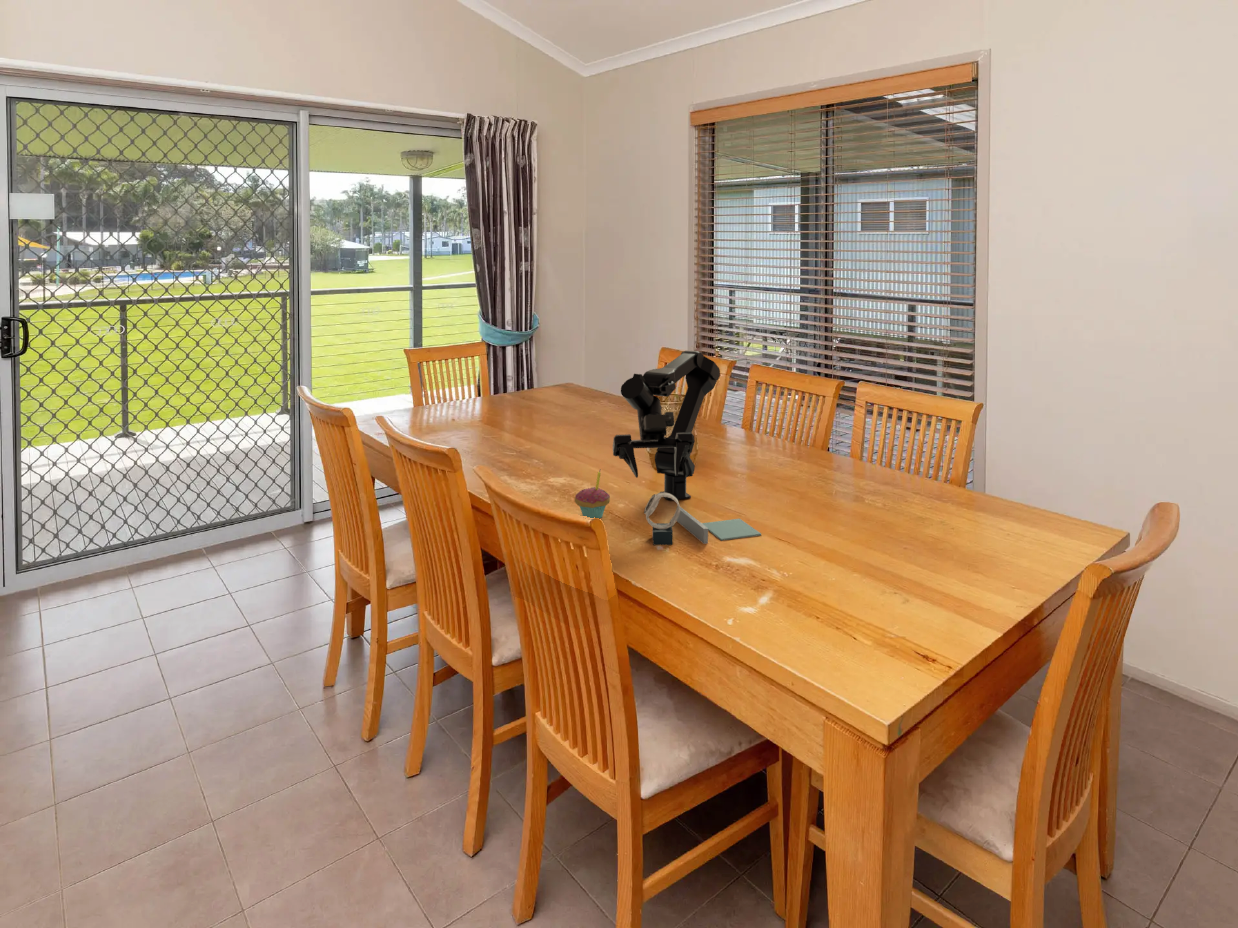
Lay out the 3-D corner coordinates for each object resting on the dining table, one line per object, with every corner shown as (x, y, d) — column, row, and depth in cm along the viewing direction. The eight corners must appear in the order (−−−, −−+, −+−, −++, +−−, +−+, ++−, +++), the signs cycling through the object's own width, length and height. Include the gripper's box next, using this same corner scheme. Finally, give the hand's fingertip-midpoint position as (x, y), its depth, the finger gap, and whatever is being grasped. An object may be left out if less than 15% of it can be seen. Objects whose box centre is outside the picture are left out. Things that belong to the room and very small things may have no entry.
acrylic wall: (676, 520, 198) (676, 507, 197) (680, 520, 199) (680, 506, 198) (703, 543, 184) (704, 528, 183) (707, 543, 184) (708, 528, 183)
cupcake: (609, 510, 206) (609, 464, 203) (610, 521, 198) (609, 473, 195) (575, 511, 206) (574, 464, 203) (574, 522, 198) (573, 474, 195)
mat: (701, 524, 196) (701, 523, 196) (739, 520, 199) (739, 518, 199) (721, 540, 186) (721, 538, 185) (761, 535, 189) (761, 533, 188)
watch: (643, 536, 189) (643, 490, 186) (679, 536, 189) (679, 490, 186) (644, 545, 183) (644, 497, 180) (680, 545, 183) (681, 497, 180)
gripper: (613, 400, 189) (618, 460, 181) (693, 398, 191) (702, 457, 183) (610, 426, 199) (615, 484, 191) (686, 424, 201) (695, 480, 193)
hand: (657, 476), depth 189 cm, fingers open, 9 cm apart
